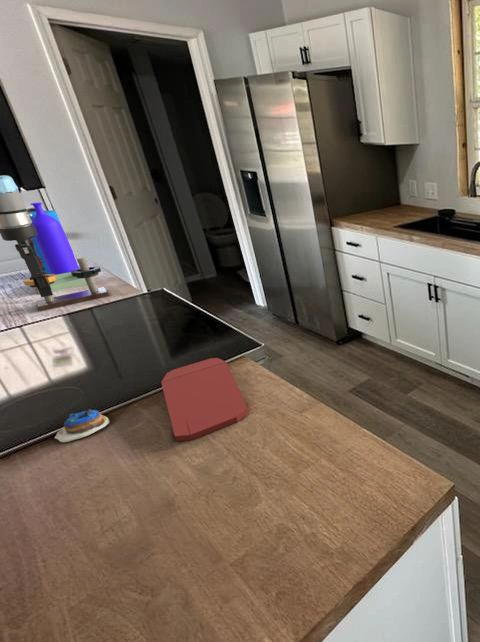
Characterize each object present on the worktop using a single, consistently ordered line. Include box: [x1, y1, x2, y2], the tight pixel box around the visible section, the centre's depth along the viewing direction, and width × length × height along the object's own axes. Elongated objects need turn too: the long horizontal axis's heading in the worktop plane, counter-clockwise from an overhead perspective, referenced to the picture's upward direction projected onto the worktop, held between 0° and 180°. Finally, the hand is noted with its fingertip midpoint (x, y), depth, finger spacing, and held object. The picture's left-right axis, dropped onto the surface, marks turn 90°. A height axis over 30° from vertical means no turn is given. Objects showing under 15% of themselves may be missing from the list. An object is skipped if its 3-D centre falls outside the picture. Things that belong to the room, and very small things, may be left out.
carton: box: [160, 357, 250, 442], centre depth 90 cm, size 12×5×25 cm
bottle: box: [30, 201, 80, 275], centre depth 164 cm, size 8×8×30 cm
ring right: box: [71, 265, 102, 277], centre depth 144 cm, size 7×7×1 cm
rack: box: [29, 257, 110, 312], centre depth 141 cm, size 17×8×14 cm, turn 139°
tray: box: [35, 272, 88, 295], centre depth 159 cm, size 15×13×3 cm
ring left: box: [23, 274, 57, 287], centre depth 136 cm, size 7×7×1 cm
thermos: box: [27, 210, 76, 274], centre depth 170 cm, size 11×11×25 cm
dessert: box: [54, 408, 110, 443], centre depth 81 cm, size 8×7×6 cm
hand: (46, 293), depth 138 cm, fingers closed on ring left, 7 cm apart
